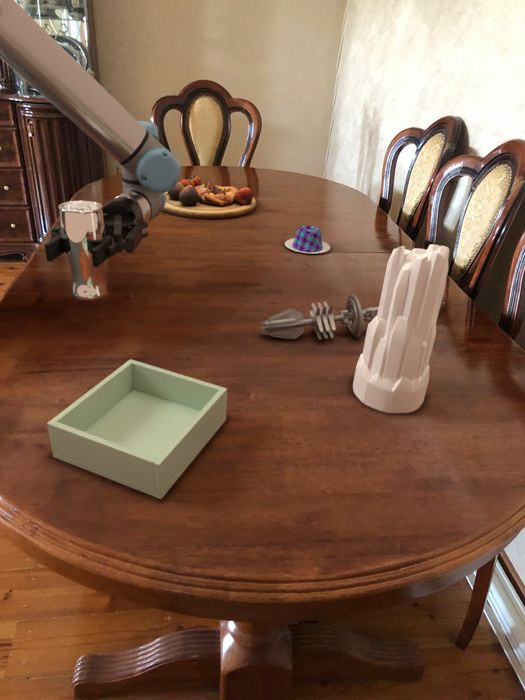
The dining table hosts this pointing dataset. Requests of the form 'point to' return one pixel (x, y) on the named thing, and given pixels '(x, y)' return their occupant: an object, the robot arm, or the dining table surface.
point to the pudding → (307, 241)
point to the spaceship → (320, 320)
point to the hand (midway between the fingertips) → (71, 255)
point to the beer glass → (83, 247)
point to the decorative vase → (403, 331)
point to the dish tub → (139, 426)
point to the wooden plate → (208, 200)
